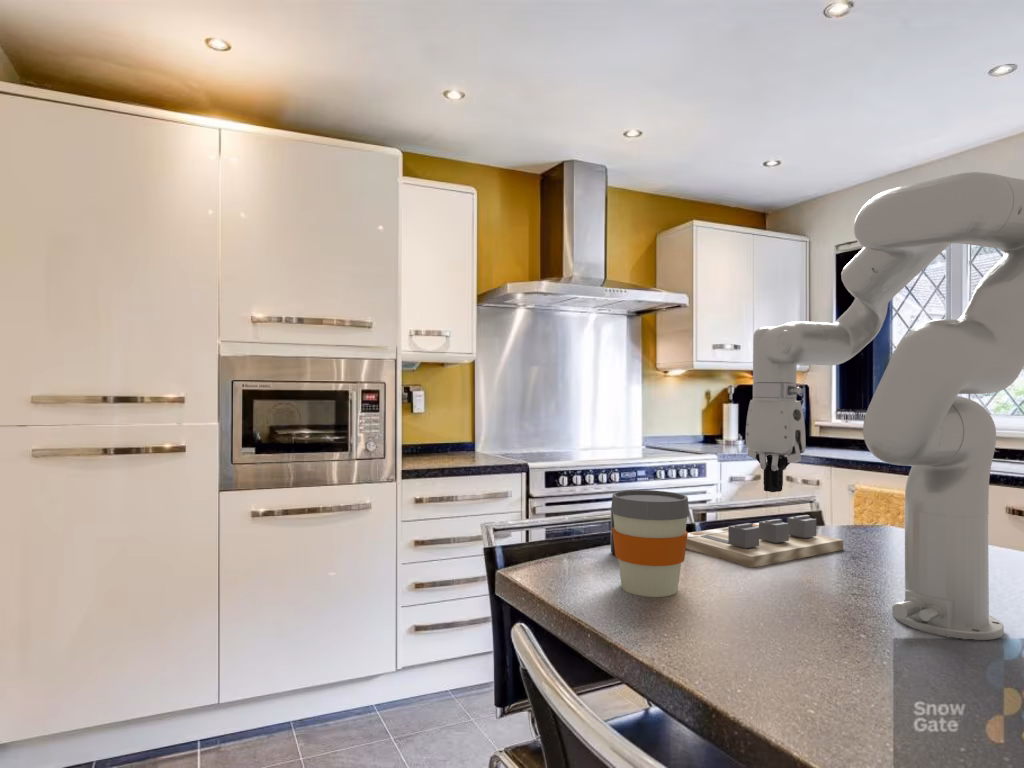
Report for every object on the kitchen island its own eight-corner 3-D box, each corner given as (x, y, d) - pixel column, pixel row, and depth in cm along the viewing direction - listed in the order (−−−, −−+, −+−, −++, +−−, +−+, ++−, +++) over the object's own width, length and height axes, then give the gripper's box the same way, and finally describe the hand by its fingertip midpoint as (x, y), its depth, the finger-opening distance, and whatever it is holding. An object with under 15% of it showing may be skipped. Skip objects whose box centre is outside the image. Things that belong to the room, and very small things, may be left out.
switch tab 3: (804, 538, 127) (804, 518, 127) (786, 534, 131) (786, 515, 131) (816, 536, 129) (816, 516, 130) (799, 532, 133) (799, 513, 133)
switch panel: (752, 567, 113) (752, 555, 113) (672, 544, 131) (672, 534, 131) (843, 549, 127) (843, 538, 127) (760, 530, 145) (760, 521, 145)
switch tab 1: (744, 548, 118) (744, 527, 118) (728, 543, 122) (728, 523, 122) (759, 545, 120) (759, 525, 120) (742, 541, 124) (742, 521, 124)
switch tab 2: (775, 543, 123) (775, 522, 123) (758, 539, 126) (758, 519, 126) (789, 540, 125) (789, 520, 125) (771, 536, 128) (772, 517, 128)
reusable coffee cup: (662, 574, 109) (662, 488, 109) (705, 596, 97) (705, 500, 97) (597, 580, 105) (597, 491, 105) (634, 604, 93) (634, 503, 93)
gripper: (824, 393, 111) (822, 496, 111) (754, 392, 124) (752, 484, 124) (797, 393, 107) (796, 499, 107) (728, 392, 120) (727, 486, 120)
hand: (773, 490), depth 116 cm, fingers closed
